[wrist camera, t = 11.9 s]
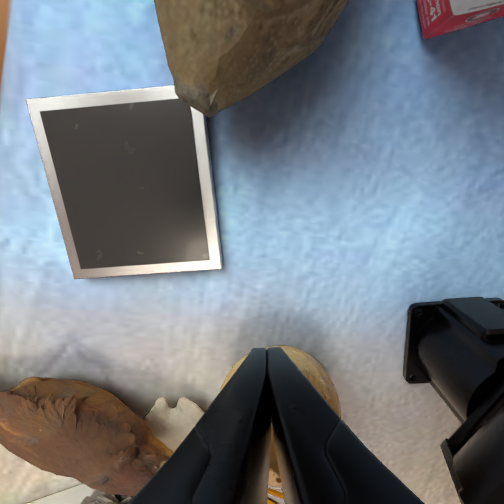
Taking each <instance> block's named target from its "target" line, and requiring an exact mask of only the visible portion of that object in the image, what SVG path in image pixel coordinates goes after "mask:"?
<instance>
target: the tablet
mask: <svg viewBox="0 0 504 504" xmlns="http://www.w3.org/2000/svg"><path fill="white" fill-rule="evenodd" d="M26 103H27V106H28V110H29V114H30V117H31V121H32V125H33V128H34V132H35V136H36V140H37V143H38V147H39V151H40V154H41V158H42V162H43V165H44V169H45V173H46V176H47V180H48V184H49V187H50V191H51V195H52V198H53V202H54V206H55V209H56V213H57V217H58V221H59V224H60V228H61V232H62V235H63V239H64V243H65V246H66V250H67V254H68V257H69V261H70V265H71V268H72V272H73V276H74V279H83V278H98V277H112V276H127V275H141V274H155V273H170V272H184V271H198V270H213V269H222V266H223V260H222V251H221V243H220V234H219V225H218V216H217V208H216V199H215V190H214V181H213V173H212V164H211V155H210V147H209V138H208V129H207V120H206V115H204V114H202V113H201V112H199V111H197V110H196V109H194V108H192V107H191V106H189V105H188V104H186V103H185V102H184V101H182V100H181V99H179V98H178V96H177V95H176V94H175V89H174V85H171V86H161V87H150V88H140V89H129V90H119V91H108V92H98V93H87V94H77V95H66V96H56V97H45V98H34V99H26Z"/></svg>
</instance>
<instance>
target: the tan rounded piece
mask: <svg viewBox="0 0 504 504" xmlns="http://www.w3.org/2000/svg"><path fill="white" fill-rule="evenodd" d="M269 347H281V348H282V349H283V350H284V351H285V353H286V354H287V355H288V356H289V357H290V359H291V360H292V361H293V362H294V363H295V364H296V366H297V367H298V368H299V369H300V370H301V372H302V373H303V374H304V375H305V376H306V378H307V379H308V380H309V381H310V382H311V383H312V385H313V386H314V387H315V388H316V389H317V391H318V392H319V393H320V394H321V395H322V396H323V398H324V399H325V400H326V401H327V402H328V404H329V405H330V406H331V407H332V408H333V410H334V411H335V412H336V413H337V414H338V415H339V417H340V418H341V409H340V403H339V398H338V394H337V392H336V389H335V387H334V384H333V382H332V381H331V379H330V377H329V376H328V374H327V372H326V371H325V370H324V368H323V367H322V366H321V364H319V363H318V361H317V360H316V359H314V358H313V357H312V356H310V355H309V354H308V353H306V352H304V351H302V350H301V349H298V348H295V347H292V346H286V345H277V346H269ZM269 347H266V349H268V348H269ZM247 356H248V355H246V356H245V357H243V358H242V359H241V360H239V361H238V362H237V363H236V364H235V365H234V366H233V367H232V369H231V370H230V371H229V373H228V375H227V376H226V378H225V380H224V382H223V384H222V387H221V389H220V391H221V390H222V389H223V387H224V386H225V385H226V383H227V382H228V381H229V379H230V378H231V377H232V375H233V374H234V373H235V371H236V370H237V369H238V367H239V366H240V365H241V363H242V362H243V361H244V360H245V358H246V357H247ZM271 421H272V420H271ZM268 485H272V486H279V487H280V486H282V484H281V478H280V472H279V467H278V461H277V455H276V449H275V443H274V437H273V430H272V434H271V451H270V466H269V481H268Z"/></svg>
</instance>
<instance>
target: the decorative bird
mask: <svg viewBox="0 0 504 504" xmlns="http://www.w3.org/2000/svg"><path fill="white" fill-rule="evenodd" d="M132 498H133V497H128V498H126V499H124V500H122V501H121V502H119V501H118V500H117V499H116V497H114V496H113V495H112V494H109V493H107V494H106V493H105V492H103V491H99V490H95V491H94V492H93V493H92V494H91V496H86V497H85V498H84V499H83V501H82V503H81V504H128V503H129V502H130V500H131V499H132Z"/></svg>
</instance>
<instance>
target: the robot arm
mask: <svg viewBox="0 0 504 504" xmlns="http://www.w3.org/2000/svg"><path fill="white" fill-rule="evenodd" d="M499 304H500V305H499ZM497 305H499V306H497ZM417 309H419V311H418V312H416V313H415V311H416V310H417ZM412 375H413V376H412ZM403 376H404V378H405V380H406V381H407V382H408V383H411V384H414V383H430V384H431V385H432V386H433V388H434V389H435V390H436V392H437V393H438V394H439V395H440V397H441V398H442V399H443V400H444V402H445V403H446V404H447V406H448V407H449V408H450V409H451V411H452V412H453V413H454V415H455V416H456V417H457V418H458V420H459V421H460V422H461V424H462V425H461V426H460V427H459V428H458V429H457V430H456V431H455V432H454V433H453V435H452V436H451V437H450V438H449V439H447V438H446V439H445V440H444V441H443V442H442V443H441V445H440V447H441V449H442V452H443V455H444V458H445V460H446V463H447V466H448V469H449V471H450V474H451V477H452V480H453V482H454V485H455V488H456V491H457V493H458V496H459V499H460V502H461V504H504V300H502V299H501V298H485V299H484V298H483V297H469V298H454V299H445V300H443V301H437V302H422V303H414V304H412V305H411V306H410V307H409V310H408V323H407V335H406V347H405V360H404V372H403ZM410 376H412V377H410ZM271 420H272V421H271ZM272 430H273V437H274V443H275V449H276V455H277V461H278V467H279V472H280V478H281V484H282V490H283V495H284V501H285V504H424V503H423V502H422V501H421V500H420V499H419V498H418V497H417V496H416V495H415V494H414V493H413V492H412V491H411V490H410V489H409V488H408V487H406V486H405V485H404V484H403V483H402V482H401V481H400V480H399V479H398V478H397V477H396V476H395V475H394V474H393V473H392V472H391V471H390V470H389V469H388V468H387V467H386V466H384V465H383V464H382V463H381V462H380V461H379V460H378V459H377V458H376V457H375V456H374V455H373V454H372V453H371V452H370V451H369V450H368V449H367V448H366V446H365V445H364V444H363V443H362V442H361V441H360V440H359V439H358V438H357V436H356V435H355V434H354V433H353V432H352V431H351V430H350V428H349V427H348V426H347V425H346V424H345V422H344V421H343V420H341V418H340V417H339V415H338V414H337V413H336V412H335V411H334V410H333V408H332V407H331V406H330V405H329V404H328V402H327V401H326V400H325V399H324V398H323V396H322V395H321V394H320V393H319V392H318V391H317V389H316V388H315V387H314V386H313V385H312V383H311V382H310V381H309V380H308V379H307V378H306V376H305V375H304V374H303V373H302V372H301V370H300V369H299V368H298V367H297V366H296V364H295V363H294V362H293V361H292V360H291V359H290V357H289V356H288V355H287V354H286V353H285V351H284V350H283V349H282V348H281V347H269V348H268V349H266V348H254V349H252V350H251V352H250V353H249V354H248V356H247V357H246V358H245V360H244V361H243V362H242V363H241V365H240V366H239V367H238V369H237V370H236V371H235V373H234V374H233V375H232V377H231V378H230V379H229V381H228V382H227V383H226V385H225V386H224V387H223V389H222V390H221V391H220V393H219V394H218V395H217V397H216V398H215V399H214V401H213V402H212V403H211V405H210V406H209V407H208V409H207V410H206V411H205V413H204V414H203V415H202V417H201V418H200V419H199V421H198V422H197V423H196V425H195V427H193V428H192V430H191V431H190V432H189V434H188V435H187V436H186V438H185V439H184V440H183V441H182V443H181V444H180V445H179V446H178V448H177V449H176V450H175V452H174V453H173V454H172V455H171V456H170V458H169V459H168V460H167V461H166V462H165V463H164V464H163V465H162V467H161V468H160V469H159V470H158V471H157V472H156V473H155V474H154V476H153V477H152V478H151V479H150V480H149V481H148V482H147V483H146V484H145V485H144V486H143V487H142V489H141V490H140V491H139V492H138V493H137V494H136V495H135V496H134V497H133V498H132V499H131V500H130V502H129V503H128V504H267V496H268V481H269V466H270V451H271V434H272Z"/></svg>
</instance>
